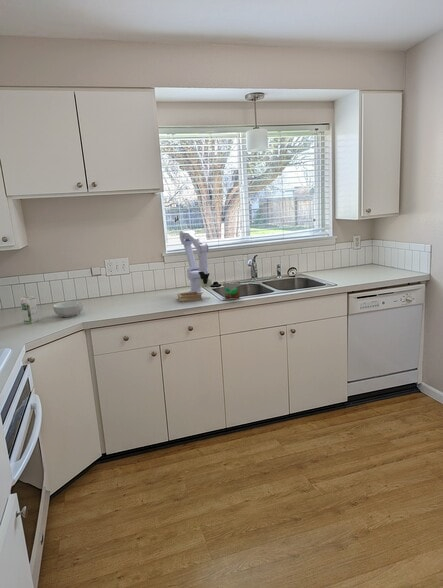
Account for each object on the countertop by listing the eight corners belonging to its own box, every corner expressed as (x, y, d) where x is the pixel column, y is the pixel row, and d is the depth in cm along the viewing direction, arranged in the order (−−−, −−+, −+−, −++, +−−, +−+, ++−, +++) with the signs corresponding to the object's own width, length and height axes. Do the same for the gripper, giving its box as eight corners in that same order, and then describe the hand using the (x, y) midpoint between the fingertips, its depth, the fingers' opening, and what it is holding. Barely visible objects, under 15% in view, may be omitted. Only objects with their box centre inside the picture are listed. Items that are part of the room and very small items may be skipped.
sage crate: (198, 285, 266) (197, 279, 265) (209, 284, 268) (209, 278, 267) (199, 286, 261) (199, 280, 260) (211, 285, 263) (211, 279, 262)
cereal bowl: (84, 317, 230) (82, 305, 229) (53, 320, 226) (51, 308, 224) (85, 310, 246) (83, 299, 245) (56, 313, 242) (54, 302, 240)
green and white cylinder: (23, 323, 224) (19, 298, 221) (32, 320, 229) (28, 295, 226) (30, 324, 222) (26, 298, 219) (39, 321, 227) (35, 296, 224)
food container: (220, 298, 258) (219, 283, 256) (224, 296, 263) (223, 281, 261) (237, 299, 252) (236, 284, 250) (241, 297, 257) (240, 282, 255)
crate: (178, 298, 263) (177, 293, 263) (198, 296, 267) (198, 291, 266) (180, 302, 254) (180, 296, 253) (201, 299, 257) (201, 294, 256)
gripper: (194, 261, 267) (196, 281, 270) (199, 264, 253) (200, 285, 256) (205, 260, 269) (206, 280, 272) (210, 263, 255) (211, 284, 258)
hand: (204, 283), depth 264 cm, fingers closed on sage crate, 5 cm apart
